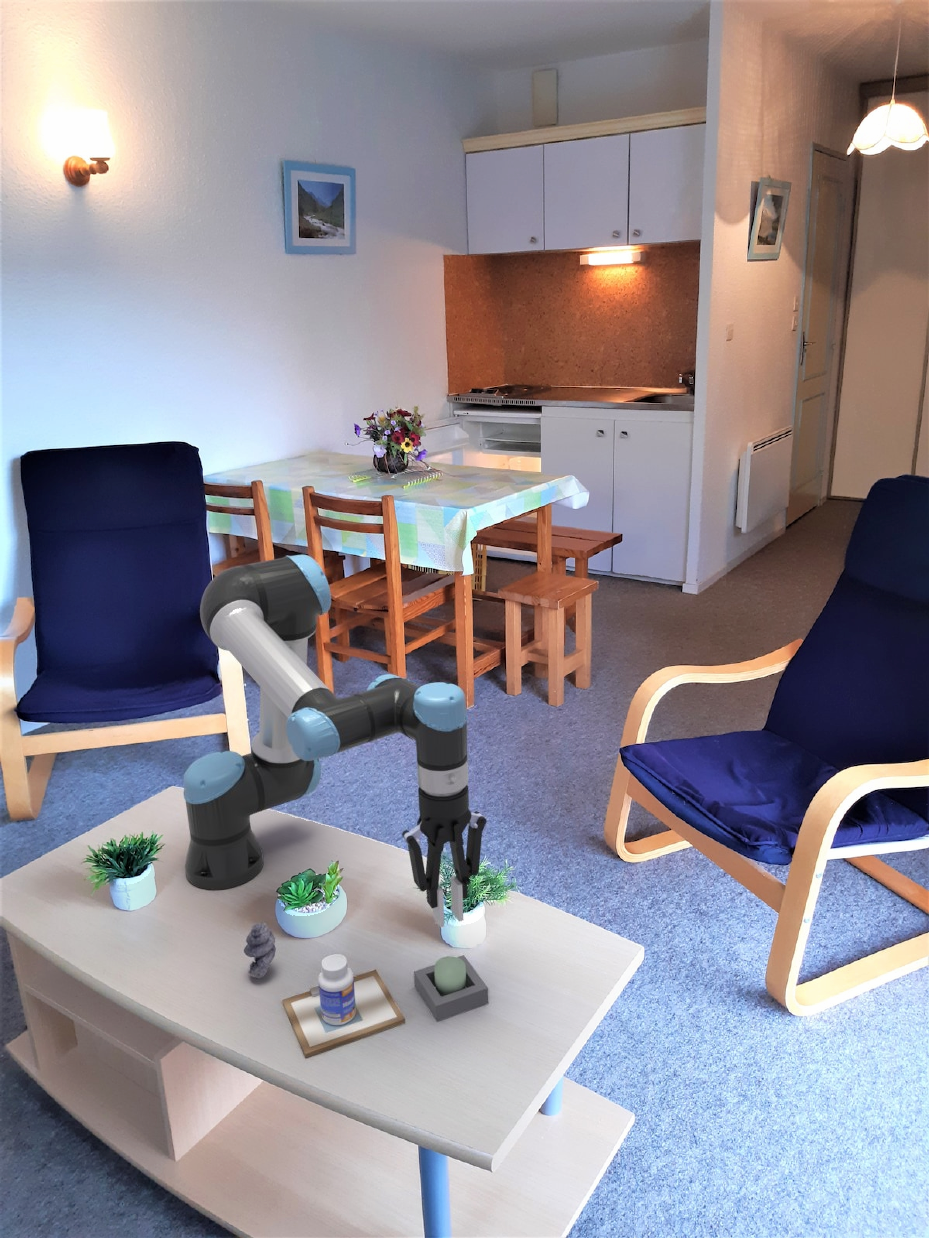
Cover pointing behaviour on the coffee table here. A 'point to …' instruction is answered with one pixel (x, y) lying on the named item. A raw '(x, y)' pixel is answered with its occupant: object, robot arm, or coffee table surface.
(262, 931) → the seashell
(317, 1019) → the clipboard
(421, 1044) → the coffee table surface
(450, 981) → the button
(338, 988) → the pill bottle
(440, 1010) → the button housing
